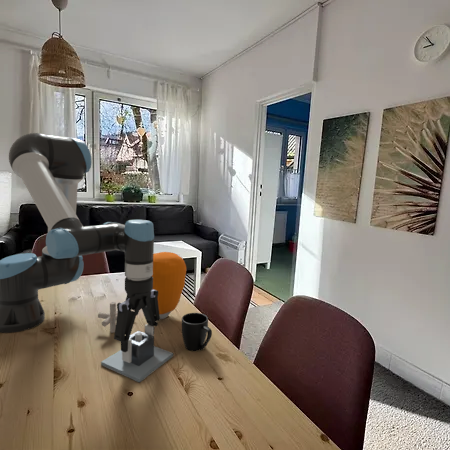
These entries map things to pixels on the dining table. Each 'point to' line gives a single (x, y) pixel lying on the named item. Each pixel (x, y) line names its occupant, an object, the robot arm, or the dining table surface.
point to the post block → (133, 370)
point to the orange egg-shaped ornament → (168, 280)
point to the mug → (195, 331)
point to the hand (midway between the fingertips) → (138, 353)
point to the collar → (142, 348)
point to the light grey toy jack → (110, 317)
